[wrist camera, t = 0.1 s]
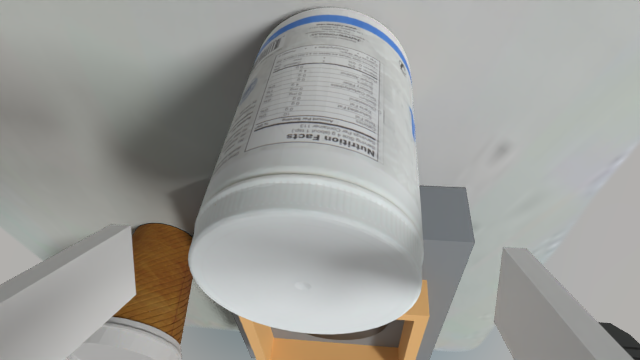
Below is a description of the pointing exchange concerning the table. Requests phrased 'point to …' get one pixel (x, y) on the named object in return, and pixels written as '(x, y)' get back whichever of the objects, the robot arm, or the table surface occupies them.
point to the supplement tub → (317, 183)
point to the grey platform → (412, 327)
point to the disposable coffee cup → (148, 302)
